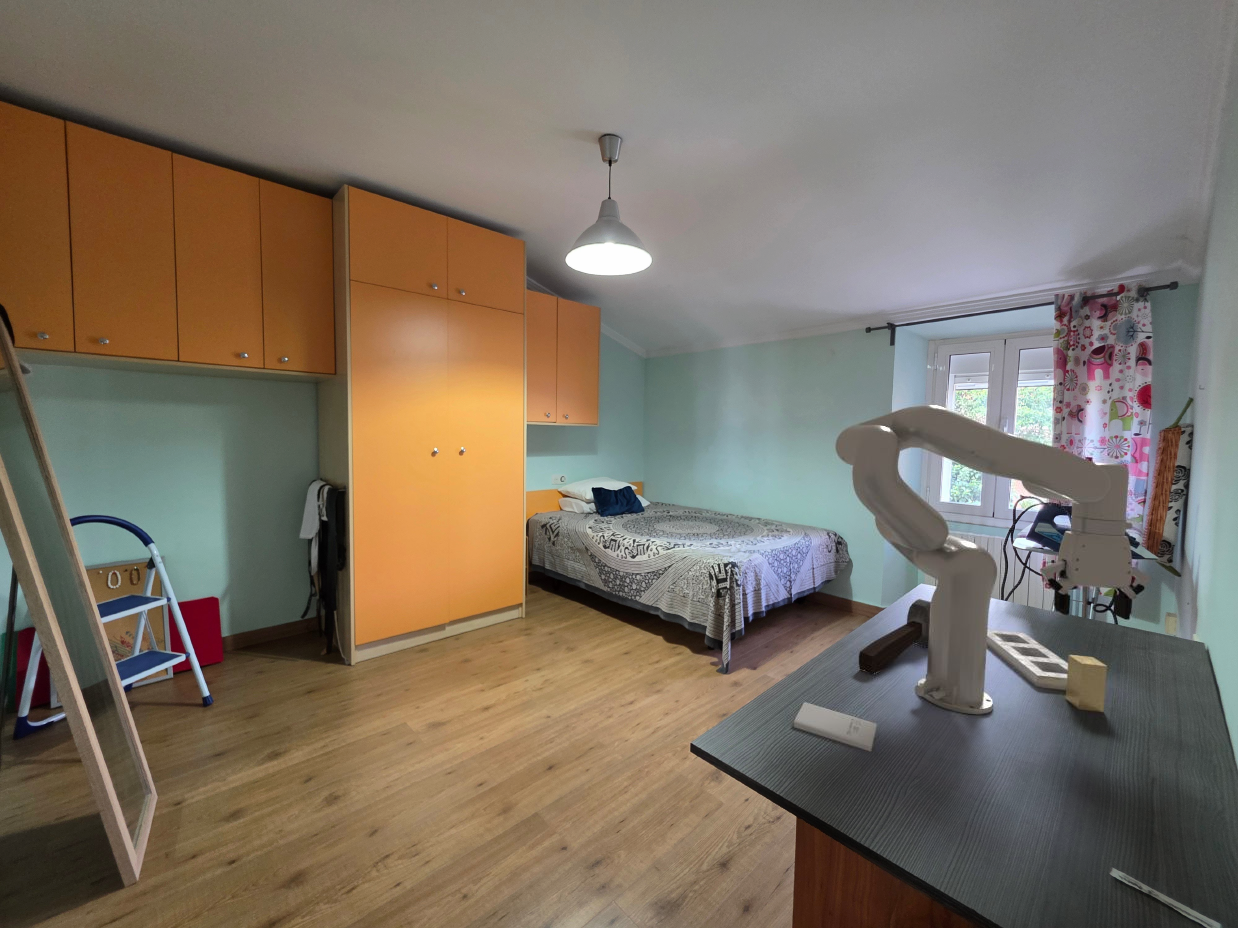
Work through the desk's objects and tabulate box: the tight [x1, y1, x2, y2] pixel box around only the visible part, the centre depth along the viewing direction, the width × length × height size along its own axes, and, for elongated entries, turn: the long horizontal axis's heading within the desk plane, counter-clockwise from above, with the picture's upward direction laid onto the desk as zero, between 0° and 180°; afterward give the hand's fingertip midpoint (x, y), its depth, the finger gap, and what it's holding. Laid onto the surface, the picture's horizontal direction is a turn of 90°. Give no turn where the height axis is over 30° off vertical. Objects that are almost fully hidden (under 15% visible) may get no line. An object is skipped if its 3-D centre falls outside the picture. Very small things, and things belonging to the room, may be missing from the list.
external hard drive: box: [793, 701, 878, 752], centre depth 89 cm, size 2×8×12 cm
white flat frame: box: [987, 629, 1068, 691], centre depth 117 cm, size 26×10×2 cm, turn 167°
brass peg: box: [1065, 654, 1108, 713], centre depth 98 cm, size 4×4×9 cm
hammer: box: [858, 598, 931, 675], centre depth 119 cm, size 5×11×30 cm
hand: (1091, 614), depth 97 cm, fingers open, 9 cm apart
